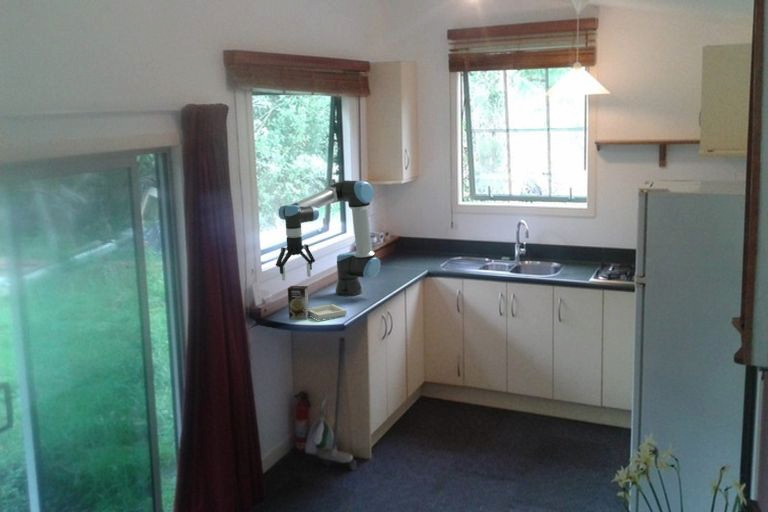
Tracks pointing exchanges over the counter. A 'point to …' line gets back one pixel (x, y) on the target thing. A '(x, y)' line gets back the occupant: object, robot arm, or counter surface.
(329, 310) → the tray
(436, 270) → the counter surface
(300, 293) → the coffee box
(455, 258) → the counter surface
